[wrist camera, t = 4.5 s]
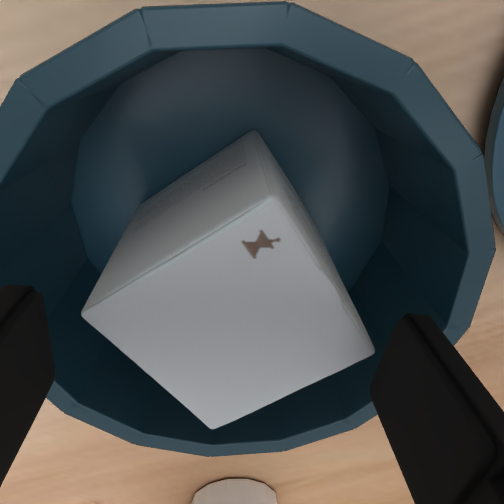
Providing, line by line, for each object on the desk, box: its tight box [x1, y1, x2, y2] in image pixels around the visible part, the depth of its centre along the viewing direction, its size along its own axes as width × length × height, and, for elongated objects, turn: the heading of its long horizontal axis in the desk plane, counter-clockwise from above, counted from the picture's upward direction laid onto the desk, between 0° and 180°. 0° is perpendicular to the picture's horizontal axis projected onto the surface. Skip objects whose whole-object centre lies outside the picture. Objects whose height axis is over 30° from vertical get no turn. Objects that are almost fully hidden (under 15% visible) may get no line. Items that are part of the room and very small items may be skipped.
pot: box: [0, 1, 496, 457], centre depth 14 cm, size 15×15×6 cm
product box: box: [81, 130, 375, 429], centre depth 13 cm, size 6×6×7 cm
